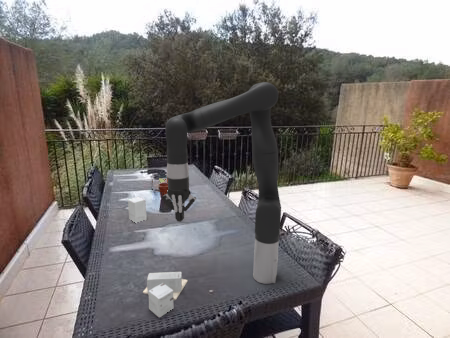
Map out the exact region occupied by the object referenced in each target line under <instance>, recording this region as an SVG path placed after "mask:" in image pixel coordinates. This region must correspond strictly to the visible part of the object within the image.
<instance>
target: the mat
mask: <svg viewBox="0 0 450 338" xmlns="http://www.w3.org/2000/svg"><path fill="white" fill-rule="evenodd" d="M188 282H189V281H188V279H184V278H182V287H181V292H173V301H176V300H177V299H178V298H179V296H180V294H181V293H182V291H183V289H184V287H185V286H186V284H187V283H188ZM142 293H143V294H145V295H148V290H147V286H146V287H145V289H144V290H143V291H142Z"/></svg>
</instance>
